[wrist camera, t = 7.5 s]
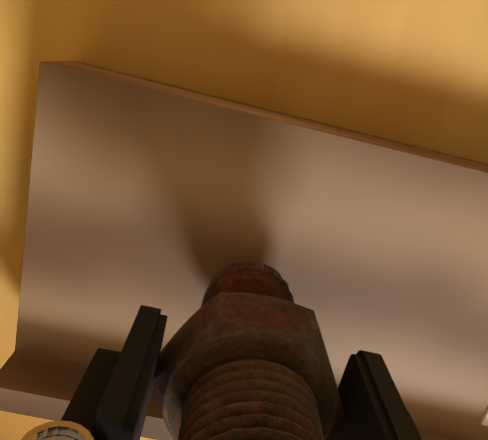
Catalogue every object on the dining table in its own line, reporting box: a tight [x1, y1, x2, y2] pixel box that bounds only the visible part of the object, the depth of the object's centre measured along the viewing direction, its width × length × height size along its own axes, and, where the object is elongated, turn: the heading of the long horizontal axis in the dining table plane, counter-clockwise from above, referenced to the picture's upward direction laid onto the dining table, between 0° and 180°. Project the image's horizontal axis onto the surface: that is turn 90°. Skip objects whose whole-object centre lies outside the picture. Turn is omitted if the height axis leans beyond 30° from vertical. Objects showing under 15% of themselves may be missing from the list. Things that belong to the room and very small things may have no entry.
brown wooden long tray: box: [0, 61, 488, 440], centre depth 18 cm, size 12×30×5 cm, turn 76°
